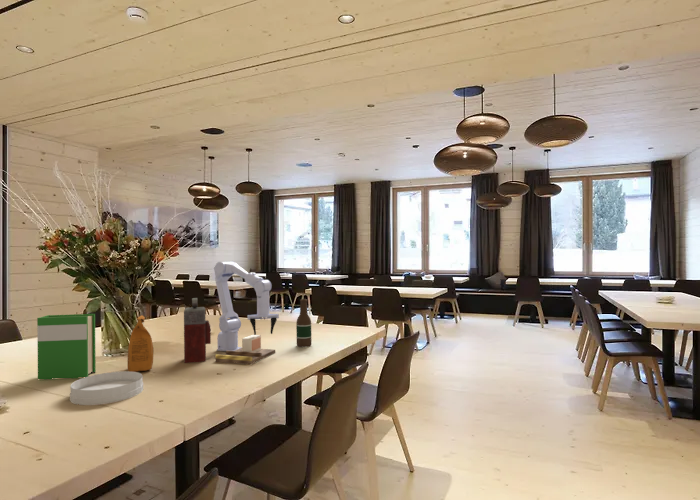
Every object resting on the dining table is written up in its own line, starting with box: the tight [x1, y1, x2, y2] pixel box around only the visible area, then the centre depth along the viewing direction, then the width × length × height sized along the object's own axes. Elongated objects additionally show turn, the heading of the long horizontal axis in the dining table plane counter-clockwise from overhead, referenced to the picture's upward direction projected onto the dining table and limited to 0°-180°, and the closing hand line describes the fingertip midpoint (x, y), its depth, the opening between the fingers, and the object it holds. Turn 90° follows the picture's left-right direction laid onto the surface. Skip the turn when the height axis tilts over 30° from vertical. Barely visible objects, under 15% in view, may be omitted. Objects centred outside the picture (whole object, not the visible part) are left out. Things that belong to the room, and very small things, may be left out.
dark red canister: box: [183, 297, 212, 364], centre depth 192 cm, size 9×11×28 cm
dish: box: [69, 370, 144, 406], centre depth 147 cm, size 22×22×5 cm
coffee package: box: [127, 315, 155, 373], centre depth 177 cm, size 10×12×22 cm
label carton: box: [241, 334, 262, 352], centre depth 200 cm, size 9×5×7 cm, turn 162°
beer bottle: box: [295, 298, 312, 348], centre depth 219 cm, size 8×8×24 cm
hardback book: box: [36, 313, 97, 380], centre depth 169 cm, size 18×7×24 cm, turn 98°
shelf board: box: [214, 347, 276, 365], centre depth 196 cm, size 18×22×3 cm
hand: (263, 334), depth 201 cm, fingers open, 7 cm apart
